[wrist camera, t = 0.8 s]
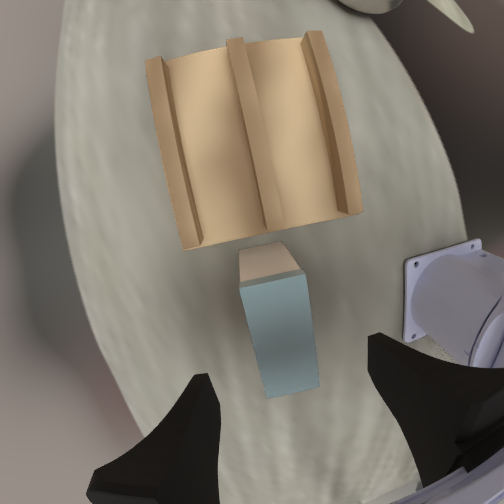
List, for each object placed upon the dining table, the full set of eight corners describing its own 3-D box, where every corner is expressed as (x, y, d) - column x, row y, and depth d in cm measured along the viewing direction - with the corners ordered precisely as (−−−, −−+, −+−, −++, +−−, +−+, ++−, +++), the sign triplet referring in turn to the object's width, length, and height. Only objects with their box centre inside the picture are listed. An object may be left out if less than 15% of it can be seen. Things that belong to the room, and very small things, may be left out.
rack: (315, 42, 16) (326, 24, 13) (353, 212, 20) (371, 218, 17) (149, 71, 16) (136, 56, 13) (186, 247, 20) (177, 259, 17)
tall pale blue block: (282, 240, 20) (305, 273, 13) (297, 327, 22) (320, 386, 15) (237, 249, 20) (239, 288, 13) (258, 336, 22) (267, 398, 15)
